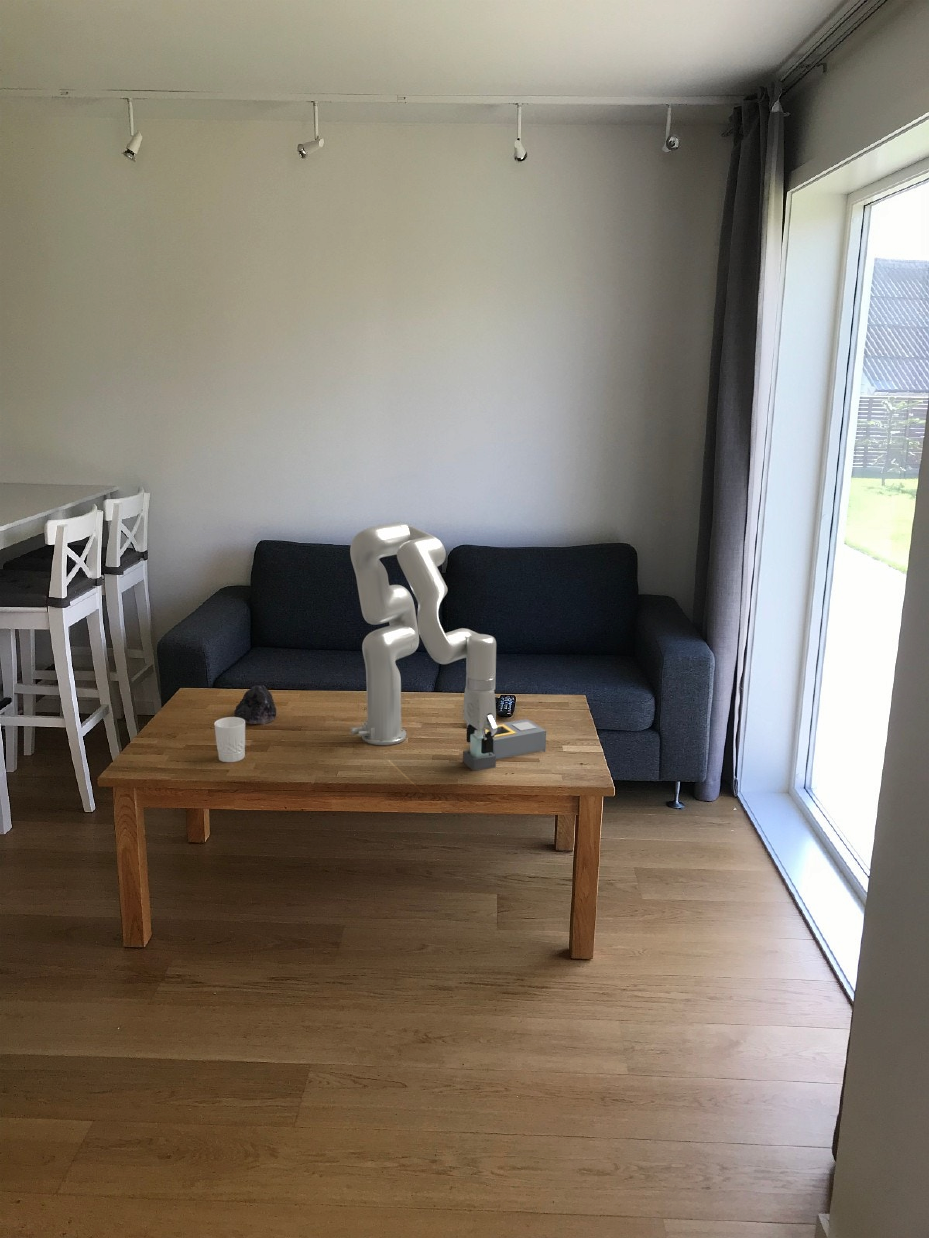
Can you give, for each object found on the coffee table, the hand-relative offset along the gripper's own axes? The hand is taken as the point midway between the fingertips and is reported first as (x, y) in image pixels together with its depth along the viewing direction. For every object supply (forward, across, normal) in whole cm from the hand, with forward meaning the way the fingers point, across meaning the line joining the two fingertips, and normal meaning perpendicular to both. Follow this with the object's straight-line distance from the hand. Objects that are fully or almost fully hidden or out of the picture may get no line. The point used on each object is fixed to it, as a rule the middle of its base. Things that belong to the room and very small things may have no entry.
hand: (479, 746), depth 241 cm
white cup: (+6, -33, -57) cm, 66 cm away
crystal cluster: (+6, -60, -44) cm, 74 cm away
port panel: (+5, -6, +13) cm, 15 cm away
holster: (+5, 0, 0) cm, 5 cm away
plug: (+5, 0, 0) cm, 5 cm away
